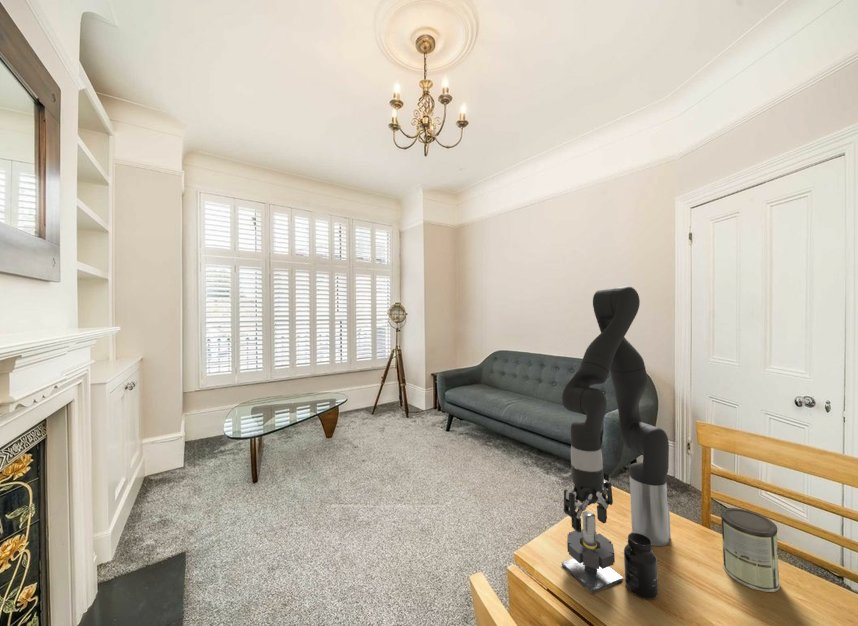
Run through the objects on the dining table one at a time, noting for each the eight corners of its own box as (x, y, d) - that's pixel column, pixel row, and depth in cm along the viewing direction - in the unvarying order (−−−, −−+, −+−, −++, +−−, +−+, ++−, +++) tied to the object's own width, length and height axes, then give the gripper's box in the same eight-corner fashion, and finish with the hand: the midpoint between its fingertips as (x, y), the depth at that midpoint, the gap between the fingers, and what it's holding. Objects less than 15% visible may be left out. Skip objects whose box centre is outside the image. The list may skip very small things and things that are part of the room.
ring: (589, 534, 93) (588, 525, 93) (624, 560, 83) (623, 550, 83) (558, 545, 89) (558, 536, 89) (591, 573, 79) (591, 563, 79)
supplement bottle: (664, 602, 76) (661, 550, 77) (631, 598, 78) (629, 547, 78) (650, 579, 83) (648, 531, 83) (620, 575, 85) (618, 528, 85)
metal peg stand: (590, 554, 92) (587, 500, 93) (622, 580, 83) (619, 520, 83) (561, 565, 89) (559, 509, 89) (592, 594, 79) (589, 531, 80)
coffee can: (715, 557, 90) (712, 504, 90) (763, 565, 86) (761, 510, 86) (736, 587, 80) (733, 528, 80) (791, 597, 77) (788, 536, 77)
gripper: (595, 452, 92) (598, 511, 92) (554, 463, 87) (557, 525, 87) (619, 463, 85) (622, 527, 85) (576, 475, 80) (580, 543, 80)
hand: (589, 526), depth 86 cm, fingers open, 8 cm apart
